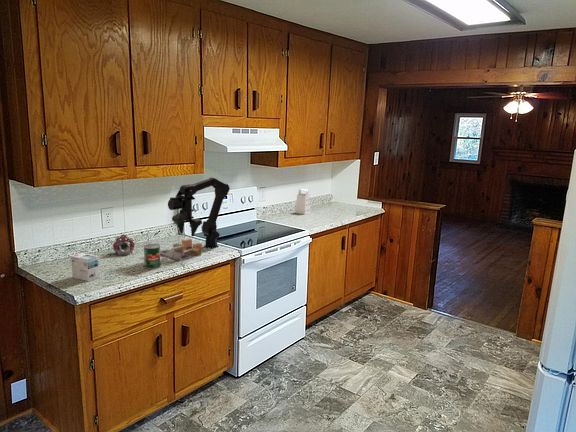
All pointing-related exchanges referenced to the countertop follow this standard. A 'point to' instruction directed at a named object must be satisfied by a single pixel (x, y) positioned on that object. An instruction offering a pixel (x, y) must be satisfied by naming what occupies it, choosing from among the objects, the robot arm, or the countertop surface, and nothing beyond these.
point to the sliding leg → (184, 244)
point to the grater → (302, 203)
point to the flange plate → (174, 255)
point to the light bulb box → (85, 266)
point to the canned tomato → (152, 256)
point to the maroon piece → (123, 245)
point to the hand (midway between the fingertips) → (187, 234)
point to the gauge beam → (190, 249)
